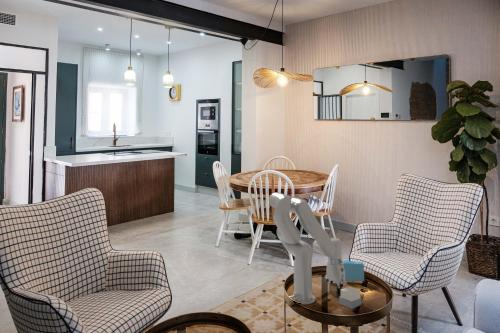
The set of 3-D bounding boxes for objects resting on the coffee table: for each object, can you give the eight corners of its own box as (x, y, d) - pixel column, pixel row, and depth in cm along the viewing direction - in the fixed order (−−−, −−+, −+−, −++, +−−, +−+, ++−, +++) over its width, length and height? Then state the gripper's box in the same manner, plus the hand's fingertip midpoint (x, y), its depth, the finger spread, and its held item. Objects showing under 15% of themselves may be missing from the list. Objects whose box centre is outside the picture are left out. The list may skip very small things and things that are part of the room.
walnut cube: (336, 296, 204) (336, 287, 203) (329, 293, 208) (329, 284, 207) (342, 293, 207) (342, 284, 206) (335, 291, 211) (334, 282, 210)
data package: (363, 281, 224) (363, 261, 223) (364, 284, 219) (363, 264, 218) (343, 280, 227) (342, 260, 226) (343, 282, 222) (342, 263, 222)
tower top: (351, 301, 188) (351, 293, 188) (340, 297, 194) (340, 289, 193) (360, 297, 192) (360, 290, 192) (349, 293, 198) (349, 286, 197)
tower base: (351, 309, 188) (351, 301, 187) (339, 304, 194) (338, 296, 194) (361, 305, 192) (361, 297, 192) (349, 300, 199) (348, 292, 199)
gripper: (351, 262, 201) (352, 295, 203) (327, 256, 215) (328, 286, 216) (342, 266, 197) (343, 299, 198) (318, 258, 211) (319, 290, 212)
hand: (335, 292), depth 207 cm, fingers closed on walnut cube, 4 cm apart
